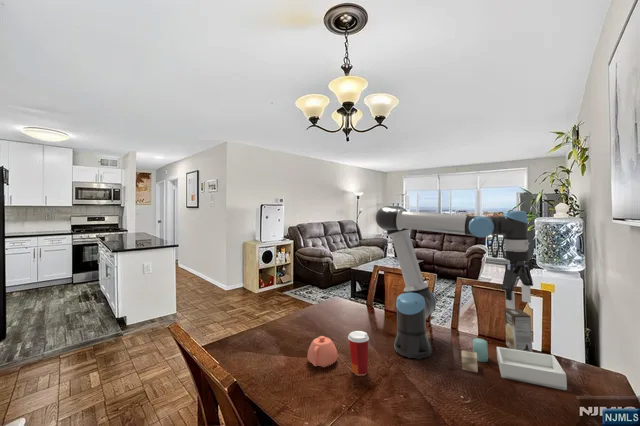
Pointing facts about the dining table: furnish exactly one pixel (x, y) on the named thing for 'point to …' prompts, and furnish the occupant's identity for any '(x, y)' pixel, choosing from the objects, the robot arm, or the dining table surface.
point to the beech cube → (469, 361)
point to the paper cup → (359, 351)
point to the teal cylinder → (480, 349)
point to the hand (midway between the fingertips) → (518, 305)
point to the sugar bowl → (322, 352)
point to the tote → (531, 368)
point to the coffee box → (518, 330)
